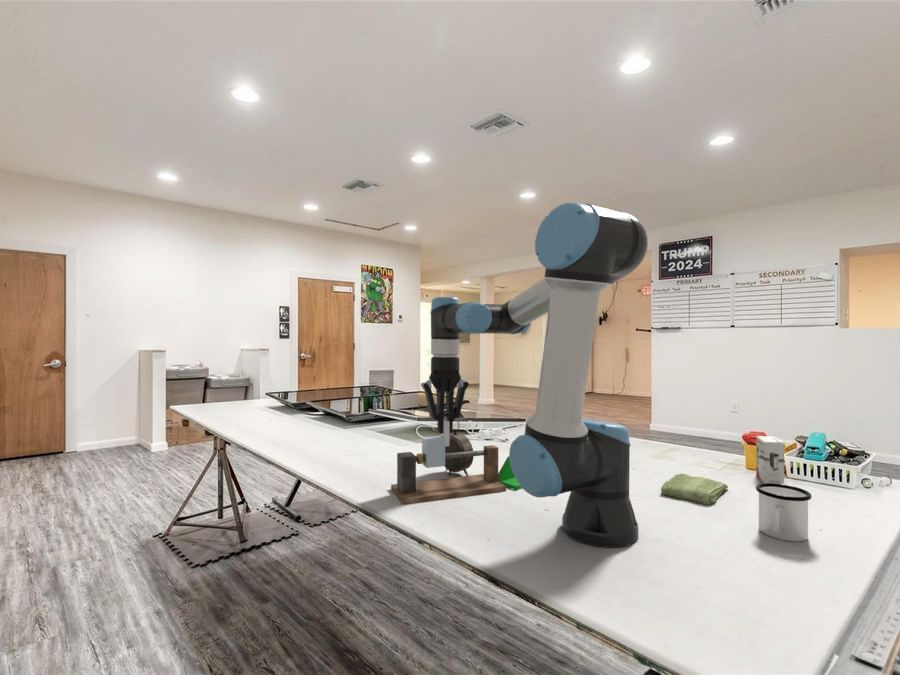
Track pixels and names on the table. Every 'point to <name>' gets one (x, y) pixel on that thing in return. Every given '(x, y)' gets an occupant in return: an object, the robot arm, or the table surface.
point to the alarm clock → (458, 444)
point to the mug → (783, 511)
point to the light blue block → (433, 451)
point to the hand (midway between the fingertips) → (445, 445)
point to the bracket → (508, 476)
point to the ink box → (770, 459)
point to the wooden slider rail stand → (446, 487)
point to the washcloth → (693, 488)
